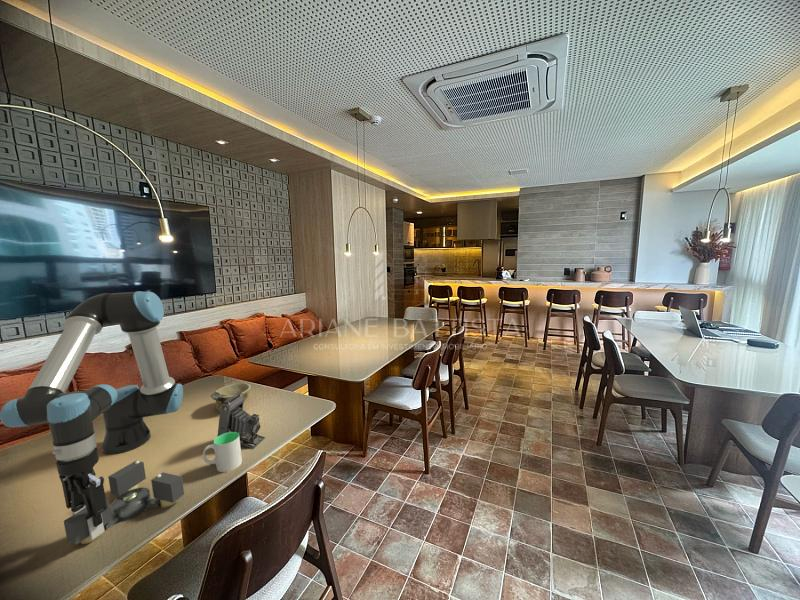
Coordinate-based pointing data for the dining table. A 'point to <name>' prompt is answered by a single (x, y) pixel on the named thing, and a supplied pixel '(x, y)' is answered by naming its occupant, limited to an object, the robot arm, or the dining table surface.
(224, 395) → the bowl
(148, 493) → the level base
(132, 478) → the grey block with dot
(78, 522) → the knob
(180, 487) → the knob
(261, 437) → the camera
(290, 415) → the dining table surface
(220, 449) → the mug
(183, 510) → the dining table surface
